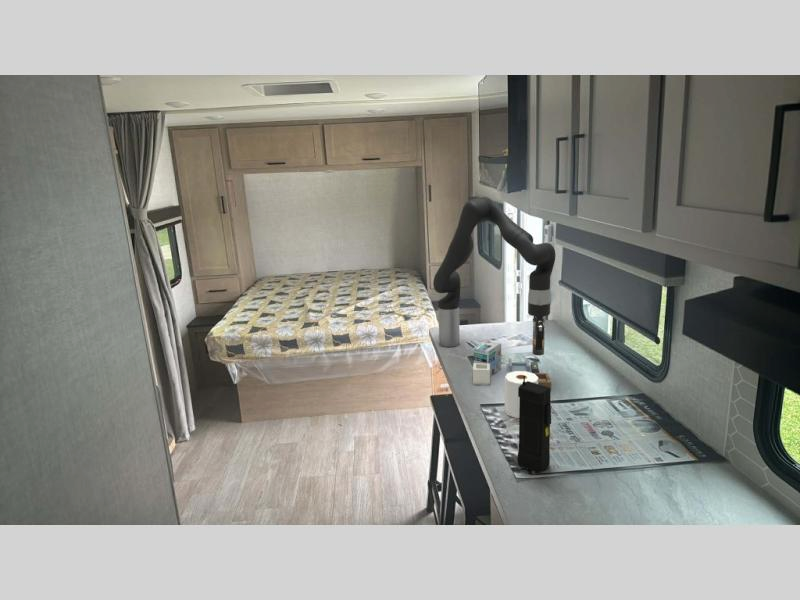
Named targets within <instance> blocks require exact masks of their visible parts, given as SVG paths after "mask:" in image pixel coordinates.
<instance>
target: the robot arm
mask: <svg viewBox="0 0 800 600" xmlns="http://www.w3.org/2000/svg"><path fill="white" fill-rule="evenodd" d="M463 205H464V206H462V210H461V213H460V216H459V219H458V220H459V221H458V223H457V227H456V228H455V229H456V230H455V232H454V234H453V236H452V239H451V241H450V243H449V246H448V249H447V252H446V253H445V256H444V259H443V260H442V262H441V264H440V266H439V267H438V269H437V271H436V273H435V275H434V277H433V282H432V284H433V285H432V286H433V288H434V291H435V292H436V293H438V294H446V295H445V296H444V297H442V298H440V299H439V300H438V302H437V312H438V316H437V317H438V343H439V345H440V346H441V347H445V348H453V347H457V346H459V345H460V342H461V341H460V340H461V339H460V336H461V335H460V302H461V276H460V274H459V272H458V271H457V270H458V269H460V268H461V267H462V266H463V265H464V264H465V263H467V262H468V260H469V259H470V257H471V254H472V253H473V249H474V239H473V237H472V234H473V232H474V230H475V227H477V226H478V224H482V223H485V222H492V223H493V224H495V225H496V227H498V229H499V232H500V235H501V237H502V239H503V240H504V241H505V242H506V243H507V244H509V245H510V246H511V247H513V248H514V249H515V250H517V252H518V253H519V254H520V256H521V258H523V260H524V261H525V262H526V263H528V264H529V265H532V266H536V267H535V268H534V270H532V271H531V272H530V274H529V278H528V280H529V281H528V283H529V284H528V292H527V293H528V296H527V297H528V298H527V299H528V300H527V313H528V315H530V316H532V331H533V330H534V333H535V339H536V350H542V340H543V339H544V330H545V328H546V327H545V326H546V320H545V318H544V317H548V316H550V314H551V301H552V300H551V298H552V297H551V296H552V295H551V294H552V293H551V275H552V273H553V270H554V265H555V262H556V250H555V247H554V246H553V245H552V244H551V243H549V242H542V243H537V244H536V243H534V236H532V234H530V232H528V231H527V230H525V229H524V228H523V227H521V226H520V225H518V224H517V223H516V222H514V221H513V220H512V219H511V218H510V217H509V216H508V214H506V212H504V211H503V210H502V209H501V208H500V207H499V206H498V205H497V204H496V202H494V200H492V199H491V198H489V197H487V196H481V197H477V198H473V199H470V200H468V201H466V202H465V203H464V204H463ZM538 335H541V337H538Z"/></svg>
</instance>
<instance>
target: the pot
mask: <svg viewBox="0 0 800 600" xmlns="http://www.w3.org/2000/svg"><path fill="white" fill-rule="evenodd" d="M472 385H474V386H475V385H476V386H490V385H491V376H490V364H484V363H474V362H473V366H472Z"/></svg>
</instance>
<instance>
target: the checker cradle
mask: <svg viewBox="0 0 800 600" xmlns="http://www.w3.org/2000/svg"><path fill="white" fill-rule="evenodd" d="M505 365H506V366H507V367H506V374H507V373H510V372H514V371H526V372H530V373H541V372H540V369H539V364H538V362H537V361H536V362H535V361H532V362H529V358H525V362H522V361H520V362H519V361H518V362H513V361H512V358H511V357H510V358H508V363H506V364H505Z"/></svg>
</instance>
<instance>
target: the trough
mask: <svg viewBox="0 0 800 600" xmlns="http://www.w3.org/2000/svg"><path fill="white" fill-rule="evenodd" d="M533 374H535V375H536V376H537V377H538V384H539V385H543V386H546V387H549V388H551V389H552V381H551V377H550V374H549V373H544V372H543V373H542V372H540V373H533Z"/></svg>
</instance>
